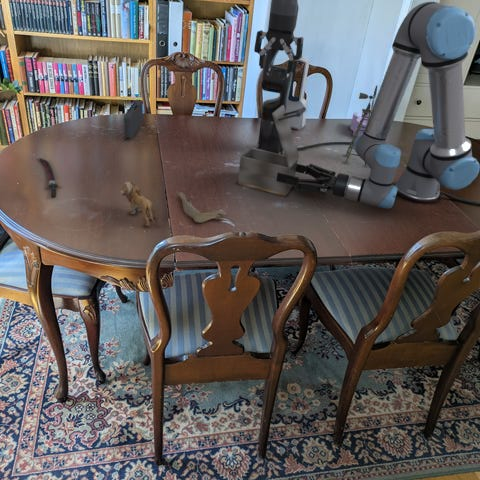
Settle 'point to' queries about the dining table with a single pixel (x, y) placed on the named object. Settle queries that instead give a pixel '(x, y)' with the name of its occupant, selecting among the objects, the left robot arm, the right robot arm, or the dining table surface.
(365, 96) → the miniature windmill
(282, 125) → the panel with bar handle
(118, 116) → the dining table surface
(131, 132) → the handheld gaming console
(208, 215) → the jawbone
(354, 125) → the clip
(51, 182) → the sword
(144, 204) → the lion figurine
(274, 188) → the chest
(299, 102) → the electronic device
